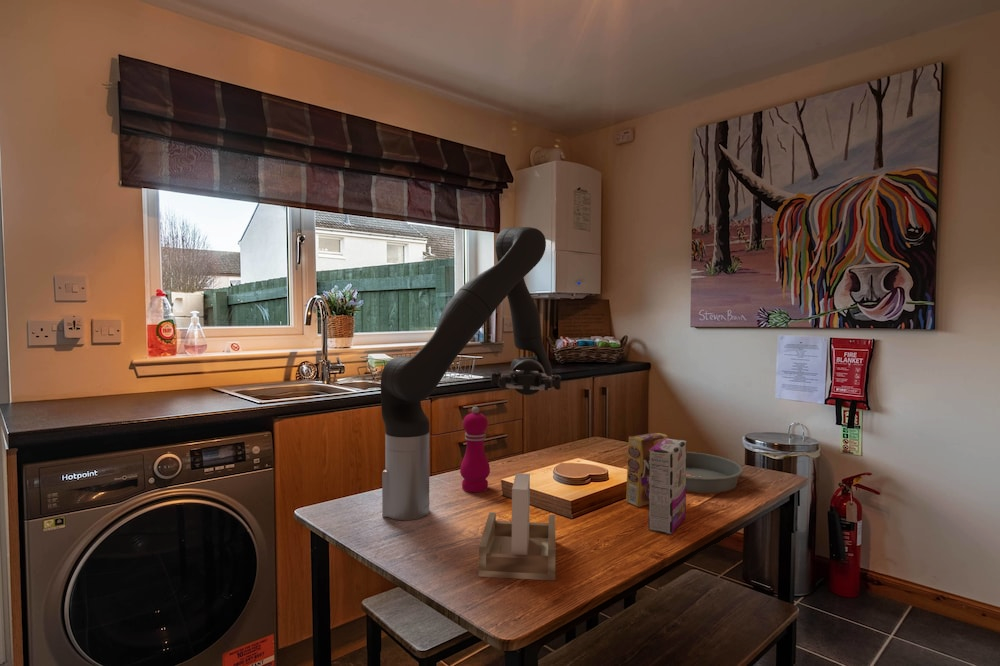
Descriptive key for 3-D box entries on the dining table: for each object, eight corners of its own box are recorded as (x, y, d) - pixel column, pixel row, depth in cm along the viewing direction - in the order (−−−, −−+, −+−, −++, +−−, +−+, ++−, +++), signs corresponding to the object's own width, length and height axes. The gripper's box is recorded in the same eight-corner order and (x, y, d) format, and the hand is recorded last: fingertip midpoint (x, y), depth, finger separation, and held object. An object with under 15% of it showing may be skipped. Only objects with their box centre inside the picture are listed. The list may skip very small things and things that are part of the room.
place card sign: (497, 567, 92) (498, 489, 92) (503, 542, 102) (503, 471, 102) (540, 569, 92) (541, 491, 91) (541, 544, 102) (542, 473, 101)
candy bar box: (662, 513, 121) (663, 437, 120) (686, 517, 118) (687, 440, 117) (646, 530, 111) (647, 448, 110) (671, 535, 108) (673, 451, 108)
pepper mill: (472, 482, 141) (473, 403, 141) (495, 487, 137) (496, 406, 136) (453, 489, 136) (454, 407, 135) (477, 495, 131) (478, 410, 130)
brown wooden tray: (478, 576, 91) (478, 546, 91) (489, 538, 107) (489, 512, 106) (555, 580, 90) (555, 549, 90) (554, 541, 105) (555, 514, 105)
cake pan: (623, 479, 145) (623, 462, 145) (673, 462, 162) (673, 446, 162) (714, 503, 127) (715, 484, 127) (760, 481, 144) (760, 464, 144)
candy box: (639, 508, 123) (641, 439, 123) (625, 502, 127) (626, 435, 126) (667, 501, 128) (668, 434, 128) (652, 495, 132) (653, 431, 131)
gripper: (497, 358, 127) (489, 363, 111) (560, 361, 126) (562, 366, 109) (496, 391, 127) (488, 401, 111) (559, 394, 126) (560, 404, 110)
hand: (524, 383), depth 110 cm, fingers open, 8 cm apart
